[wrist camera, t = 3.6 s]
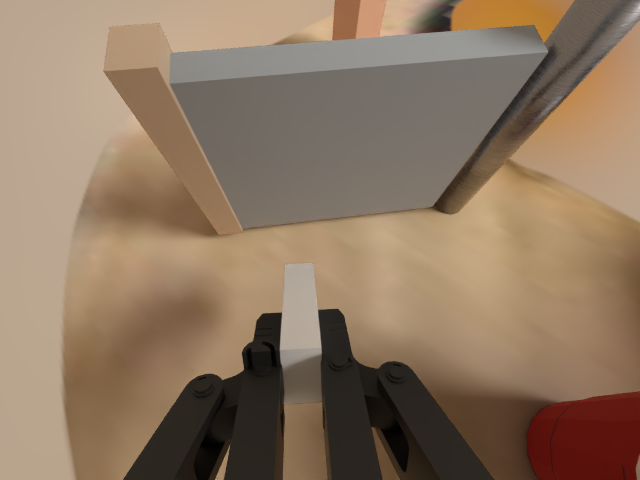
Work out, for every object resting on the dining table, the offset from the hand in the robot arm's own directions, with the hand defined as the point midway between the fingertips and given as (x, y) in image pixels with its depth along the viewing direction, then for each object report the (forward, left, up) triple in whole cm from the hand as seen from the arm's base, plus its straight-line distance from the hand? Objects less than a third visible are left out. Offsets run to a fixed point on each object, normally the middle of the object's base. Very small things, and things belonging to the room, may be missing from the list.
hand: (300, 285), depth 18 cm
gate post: (-7, -13, -7) cm, 16 cm away
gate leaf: (+2, -7, -6) cm, 10 cm away
